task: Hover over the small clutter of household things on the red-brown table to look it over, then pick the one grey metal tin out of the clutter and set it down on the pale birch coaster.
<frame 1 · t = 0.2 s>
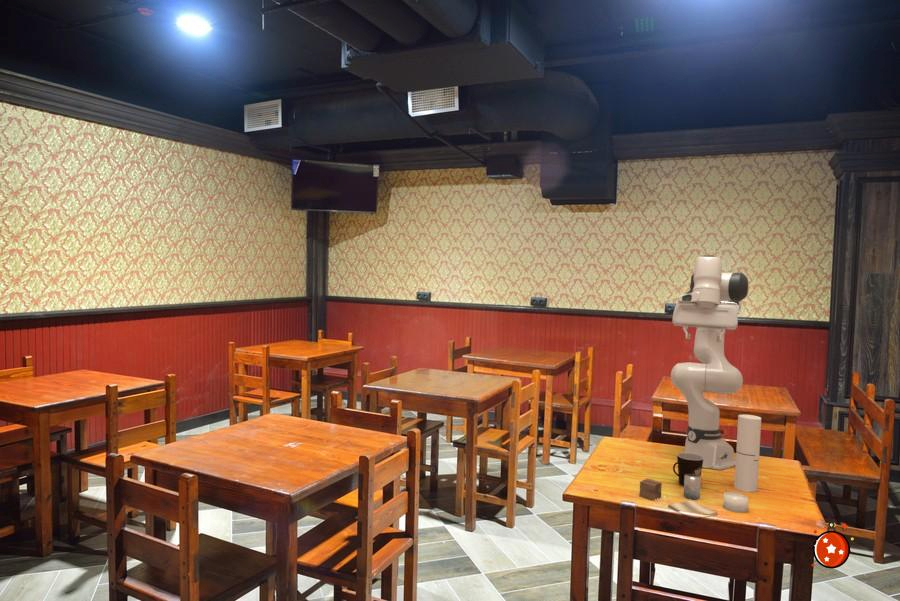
hand: (703, 340, 201), 52 cm above the table, tool tilted 20°, fingers open, 8 cm apart
coffee mug: (684, 485, 211), on the table
white rounded block: (735, 508, 191), on the table
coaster: (692, 510, 187), on the table
cylindrical container: (745, 489, 209), on the table
walnut block: (650, 497, 198), on the table
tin: (691, 497, 199), on the table
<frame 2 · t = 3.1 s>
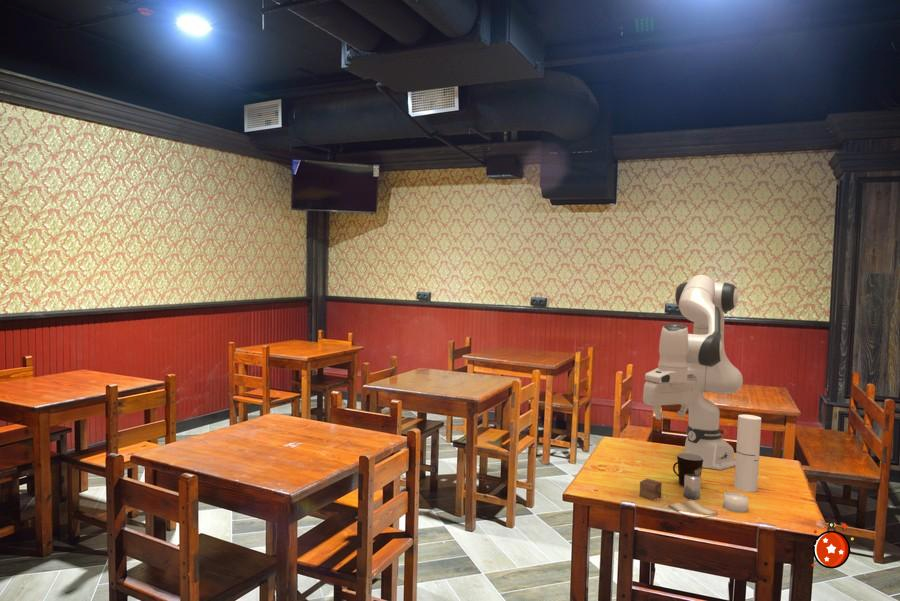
hand: (670, 417, 193), 27 cm above the table, tool pointing down, fingers open, 8 cm apart
nothing on the table moved.
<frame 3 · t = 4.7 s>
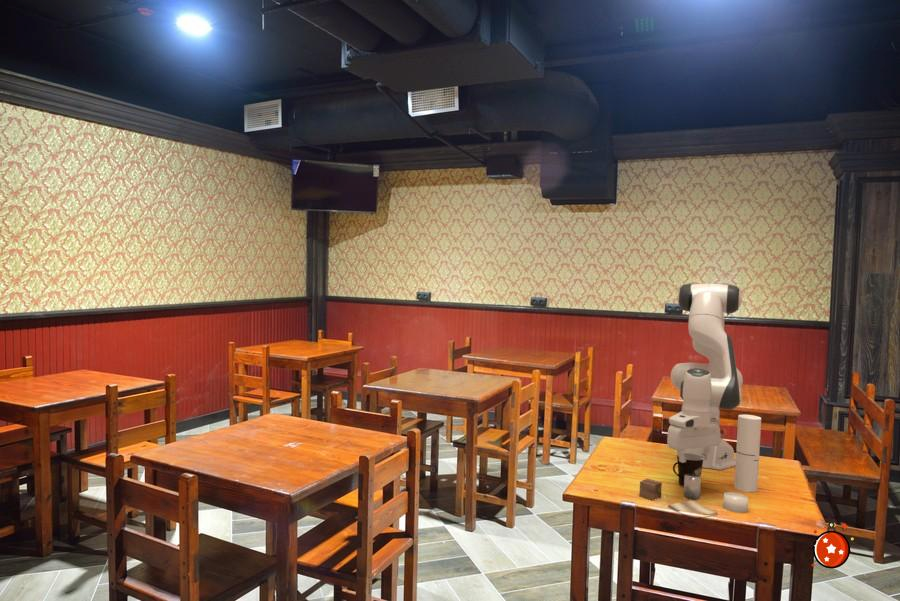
hand: (693, 460, 198), 12 cm above the table, tool pointing down, fingers open, 8 cm apart
nothing on the table moved.
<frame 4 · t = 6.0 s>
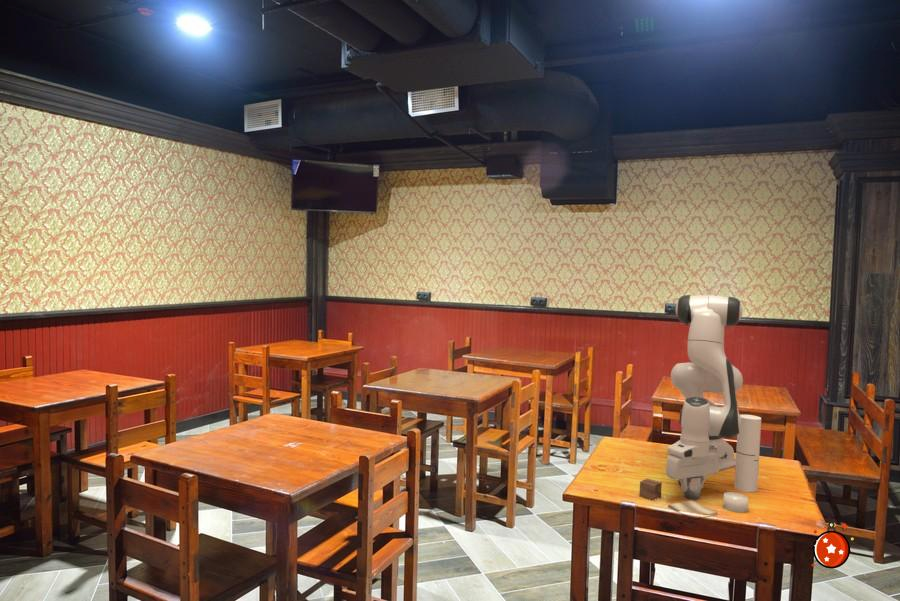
hand: (692, 489, 199), 3 cm above the table, tool pointing down, fingers closed on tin, 5 cm apart
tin: (691, 497, 199), on the table, touching gripper
everything else where it was.
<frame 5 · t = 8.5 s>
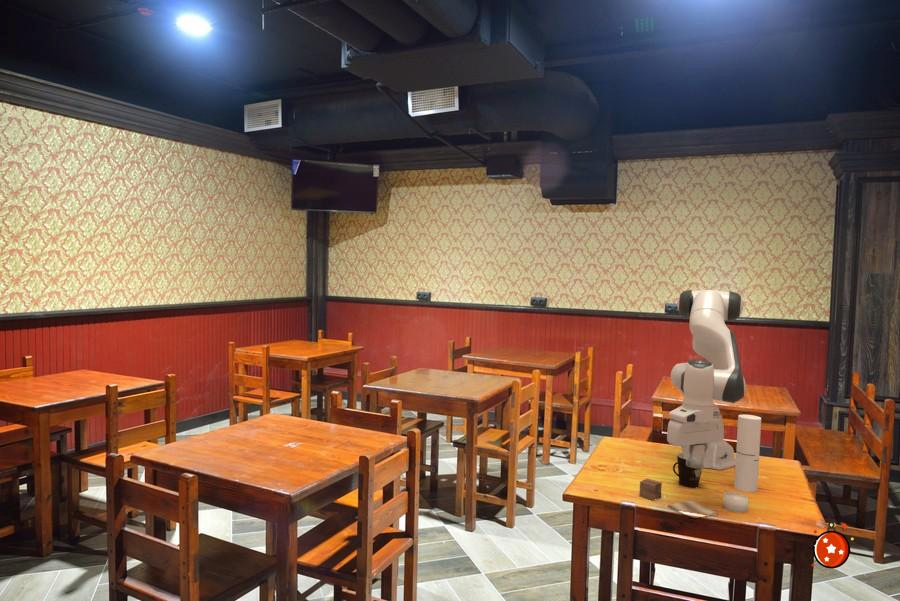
hand: (695, 457, 187), 17 cm above the table, tool pointing down, fingers closed on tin, 5 cm apart
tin: (694, 465, 187), point 14 cm above the table, touching gripper
everything else where it was.
when the fingers open (5 cm above the table, at t = 11.0 s): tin drops 1 cm, resting on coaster.
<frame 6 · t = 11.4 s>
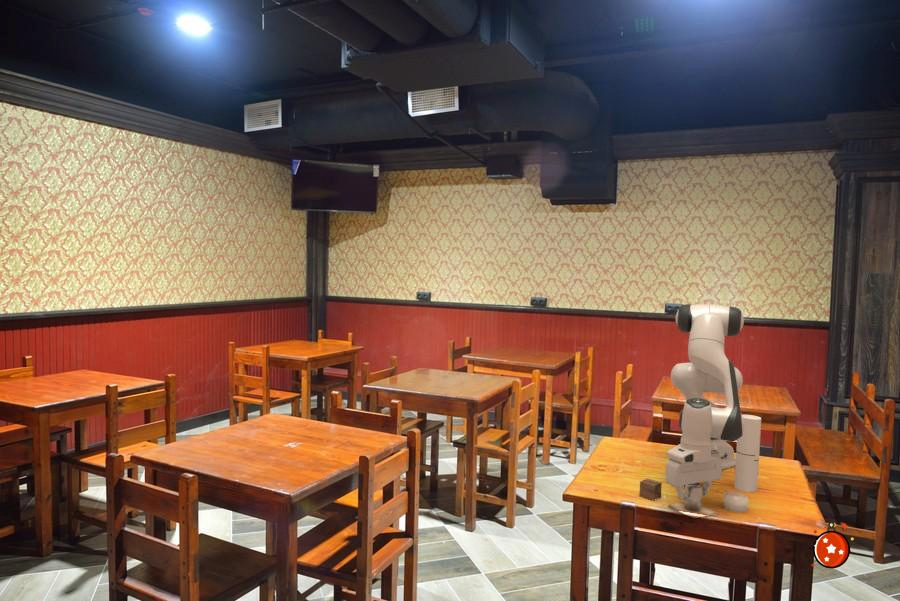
hand: (693, 496, 187), 5 cm above the table, tool pointing down, fingers open, 8 cm apart
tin: (692, 508, 187), point 1 cm above the table, touching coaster
everything else where it was.
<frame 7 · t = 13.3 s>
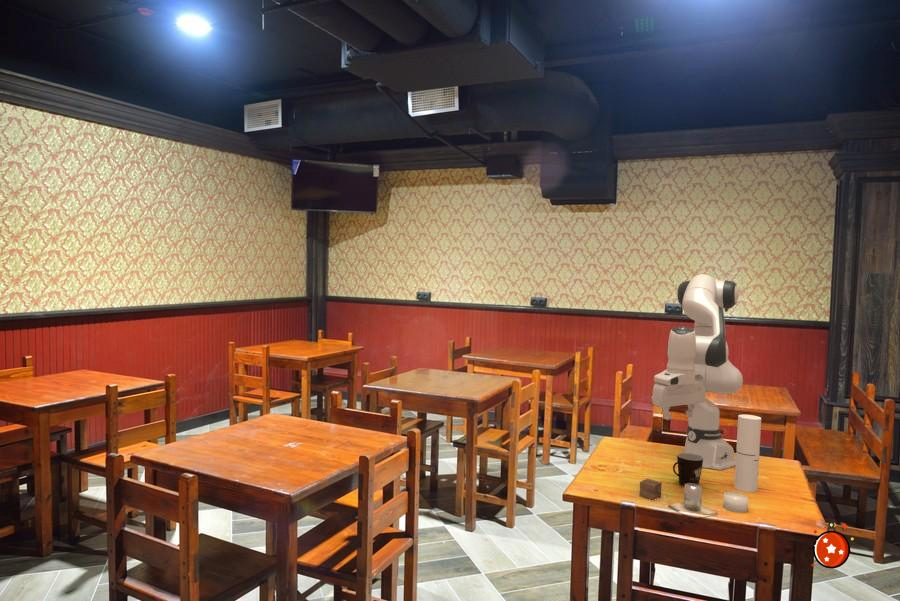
hand: (678, 417, 200), 26 cm above the table, tool pointing down, fingers open, 8 cm apart
nothing on the table moved.
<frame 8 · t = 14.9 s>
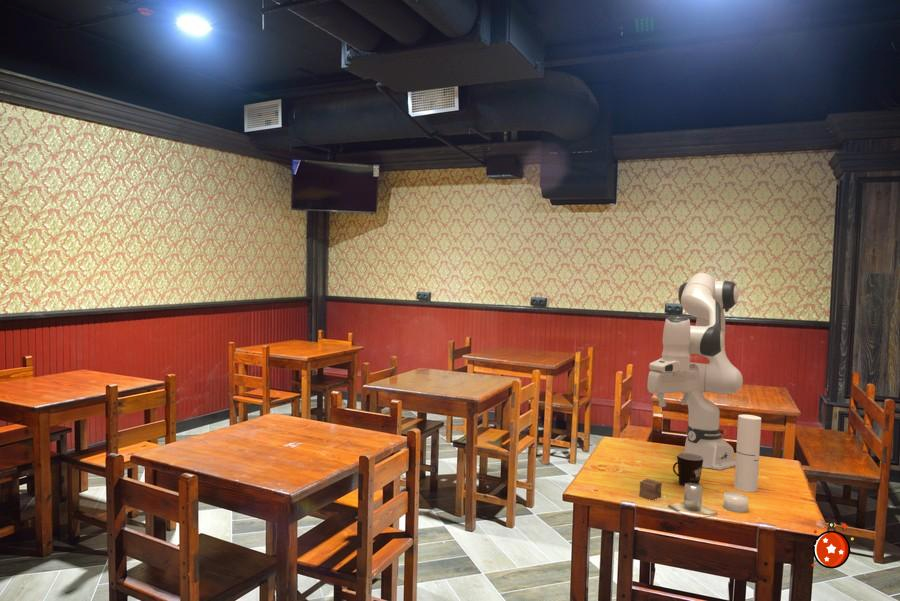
hand: (673, 405, 203), 29 cm above the table, tool pointing down, fingers open, 8 cm apart
nothing on the table moved.
at the end: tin inside the target area on the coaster (0.1 cm from its centre), point 0.9 cm above the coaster's base; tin tilted 2°; the gripper is holding nothing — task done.
